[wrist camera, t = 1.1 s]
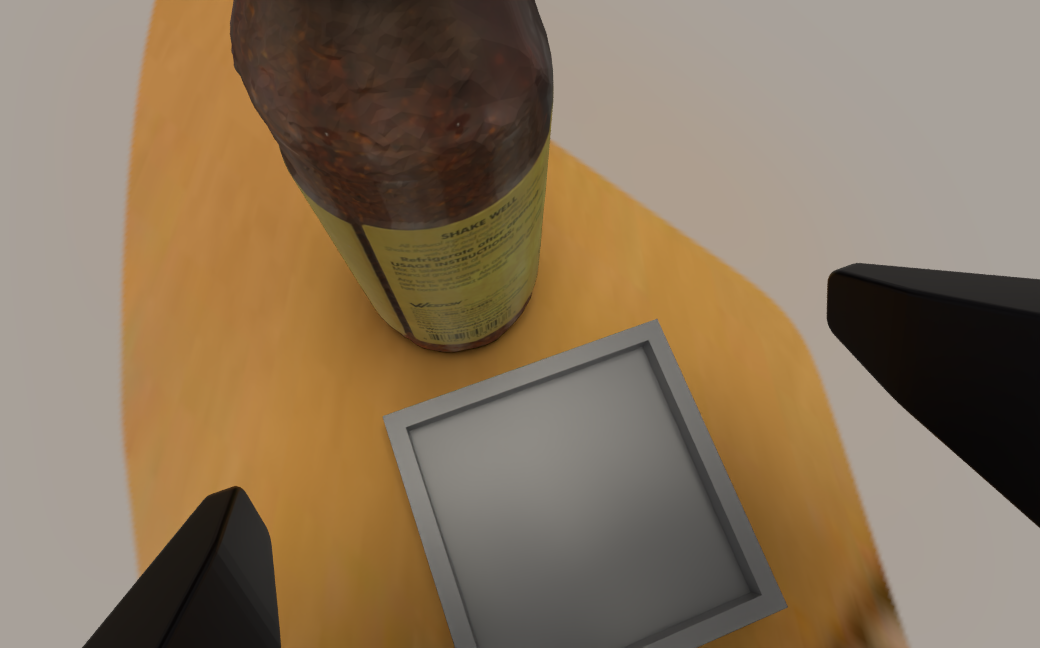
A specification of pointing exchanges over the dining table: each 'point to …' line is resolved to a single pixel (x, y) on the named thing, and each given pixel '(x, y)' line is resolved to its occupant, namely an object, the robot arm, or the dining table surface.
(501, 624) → the tray
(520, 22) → the sauce bottle
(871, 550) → the dining table surface
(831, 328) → the robot arm
